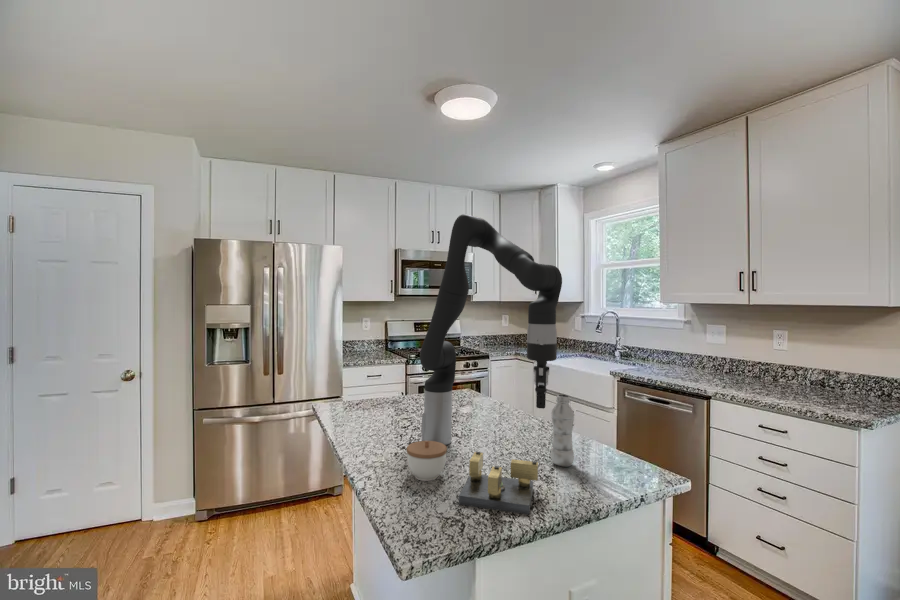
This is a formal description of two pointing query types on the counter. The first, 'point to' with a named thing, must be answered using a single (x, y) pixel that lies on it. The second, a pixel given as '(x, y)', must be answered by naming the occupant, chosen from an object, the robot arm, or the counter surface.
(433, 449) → the lidded jar
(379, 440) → the counter surface
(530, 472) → the knob
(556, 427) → the plastic bottle
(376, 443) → the counter surface
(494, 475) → the bar with square hole
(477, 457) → the knob
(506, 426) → the counter surface
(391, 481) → the counter surface
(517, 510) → the levelling plate
